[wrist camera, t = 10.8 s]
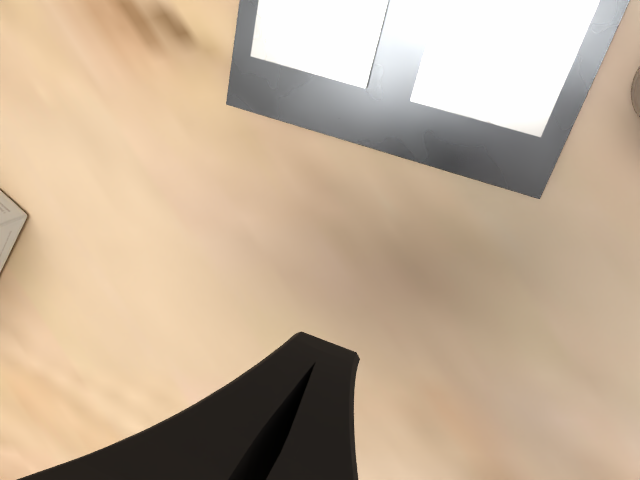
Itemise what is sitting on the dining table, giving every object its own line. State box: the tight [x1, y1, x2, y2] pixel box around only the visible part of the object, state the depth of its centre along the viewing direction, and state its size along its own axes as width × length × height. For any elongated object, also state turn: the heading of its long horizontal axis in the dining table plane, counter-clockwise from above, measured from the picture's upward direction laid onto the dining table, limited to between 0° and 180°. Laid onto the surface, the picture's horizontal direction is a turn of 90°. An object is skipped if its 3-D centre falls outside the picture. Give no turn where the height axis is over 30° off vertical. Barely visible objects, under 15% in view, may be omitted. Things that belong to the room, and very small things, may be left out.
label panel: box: [226, 0, 630, 199], centre depth 16 cm, size 12×10×1 cm
